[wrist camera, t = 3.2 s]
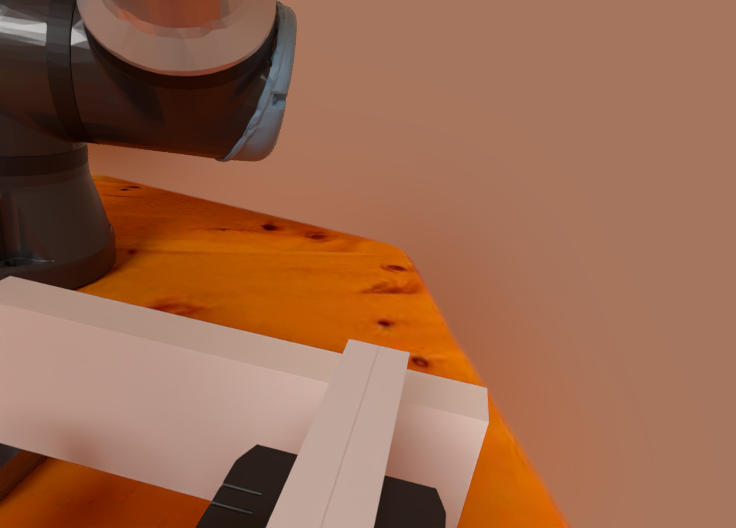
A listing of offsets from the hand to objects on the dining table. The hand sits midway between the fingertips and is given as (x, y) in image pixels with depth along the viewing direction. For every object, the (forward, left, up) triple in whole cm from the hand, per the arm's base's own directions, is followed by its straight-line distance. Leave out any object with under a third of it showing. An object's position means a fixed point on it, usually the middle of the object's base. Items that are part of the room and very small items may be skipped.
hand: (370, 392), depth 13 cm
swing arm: (-5, -6, -10) cm, 13 cm away
